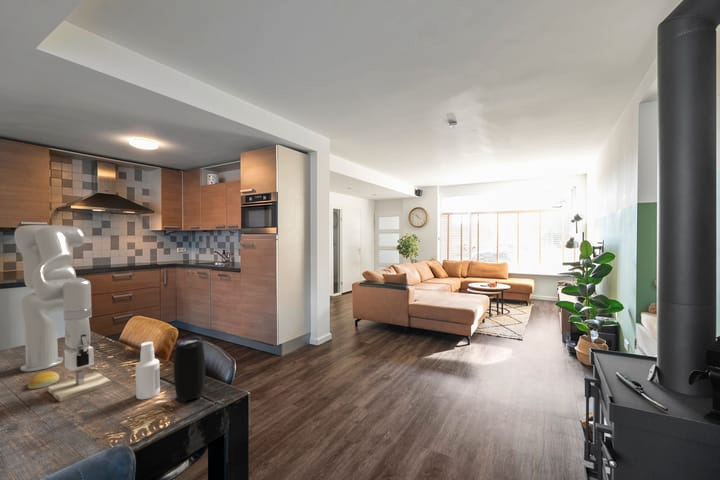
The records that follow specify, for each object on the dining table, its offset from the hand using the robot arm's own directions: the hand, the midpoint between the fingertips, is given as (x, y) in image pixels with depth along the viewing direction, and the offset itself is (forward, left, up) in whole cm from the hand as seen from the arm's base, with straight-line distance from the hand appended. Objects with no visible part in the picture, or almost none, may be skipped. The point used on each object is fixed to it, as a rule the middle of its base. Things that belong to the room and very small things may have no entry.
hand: (79, 362), depth 112 cm
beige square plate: (0, 0, -9) cm, 9 cm away
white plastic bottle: (+27, +11, -9) cm, 30 cm away
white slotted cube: (0, 0, -1) cm, 1 cm away
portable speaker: (+41, +18, -9) cm, 46 cm away
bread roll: (-16, -6, -10) cm, 20 cm away
